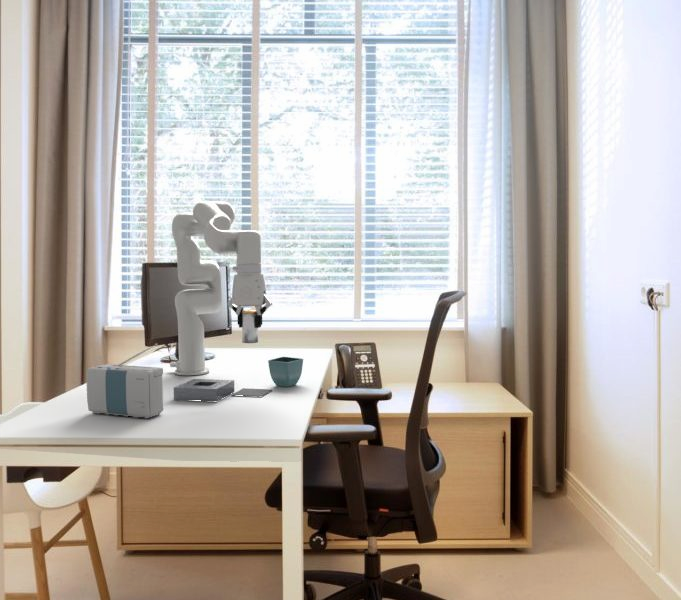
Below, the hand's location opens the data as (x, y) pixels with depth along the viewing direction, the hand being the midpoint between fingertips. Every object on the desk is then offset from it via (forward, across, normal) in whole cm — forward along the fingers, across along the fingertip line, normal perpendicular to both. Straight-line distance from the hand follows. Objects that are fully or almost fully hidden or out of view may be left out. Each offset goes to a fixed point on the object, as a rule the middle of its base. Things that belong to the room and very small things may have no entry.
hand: (250, 326), depth 198 cm
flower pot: (+22, +7, +14) cm, 27 cm away
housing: (+21, -13, -7) cm, 26 cm away
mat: (+21, 0, 0) cm, 21 cm away
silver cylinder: (+5, 0, 0) cm, 5 cm away
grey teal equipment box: (+22, -24, -32) cm, 46 cm away
